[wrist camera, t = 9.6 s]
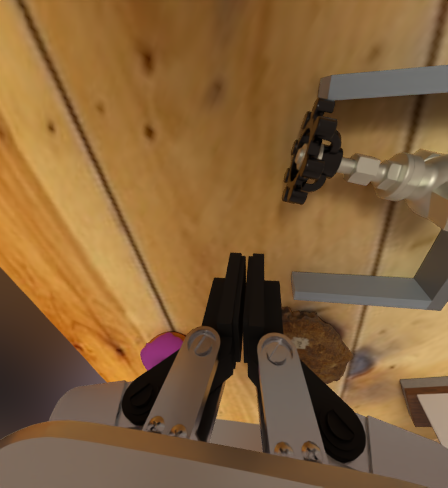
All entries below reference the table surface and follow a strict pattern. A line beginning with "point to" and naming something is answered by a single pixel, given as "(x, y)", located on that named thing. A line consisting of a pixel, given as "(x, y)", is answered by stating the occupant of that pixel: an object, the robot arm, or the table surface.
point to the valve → (366, 169)
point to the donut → (161, 348)
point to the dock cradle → (444, 248)
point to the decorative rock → (316, 344)
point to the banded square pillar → (428, 404)
